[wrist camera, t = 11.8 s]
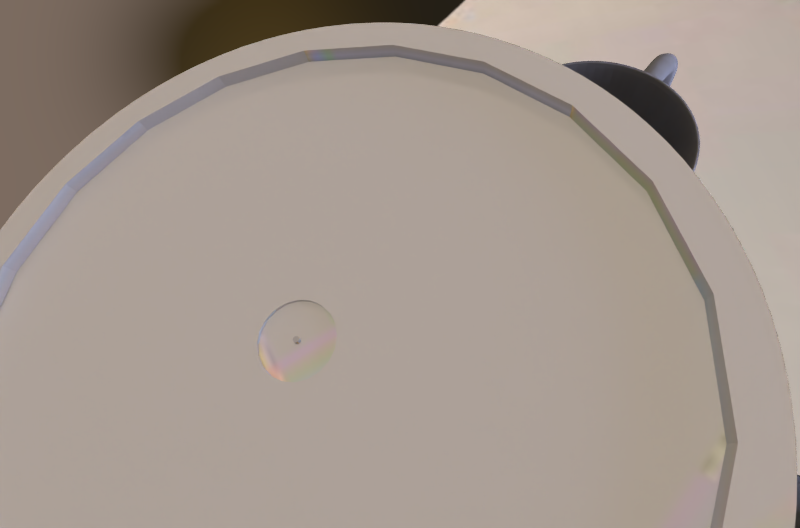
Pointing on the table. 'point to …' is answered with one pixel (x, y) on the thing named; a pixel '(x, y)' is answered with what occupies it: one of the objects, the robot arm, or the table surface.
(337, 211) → the bottle
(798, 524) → the robot arm
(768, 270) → the table surface
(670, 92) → the mug
